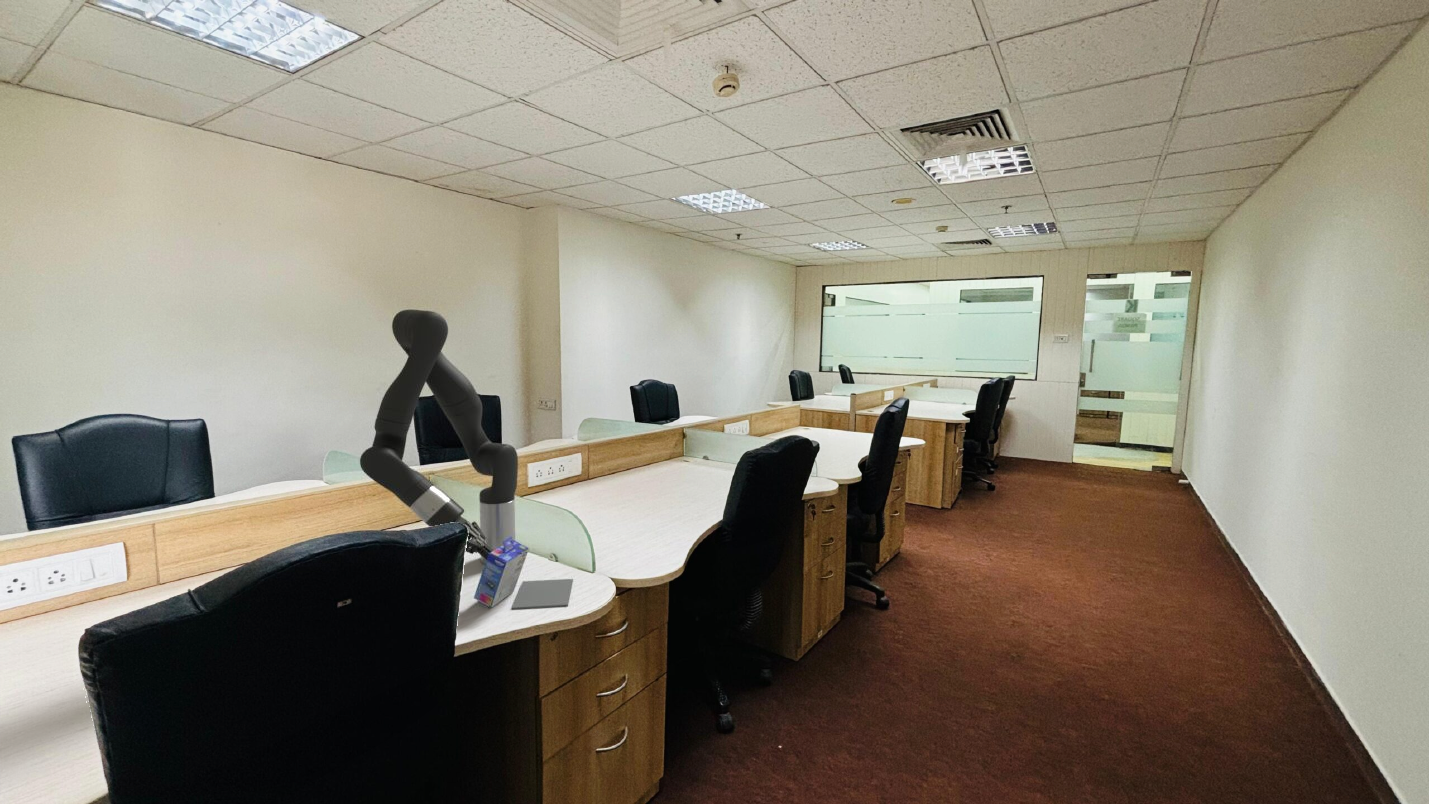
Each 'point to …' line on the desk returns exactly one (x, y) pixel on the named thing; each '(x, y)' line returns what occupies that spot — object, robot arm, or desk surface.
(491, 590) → the ink cartridge box
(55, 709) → the desk surface
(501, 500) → the robot arm
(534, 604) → the mat
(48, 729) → the desk surface
